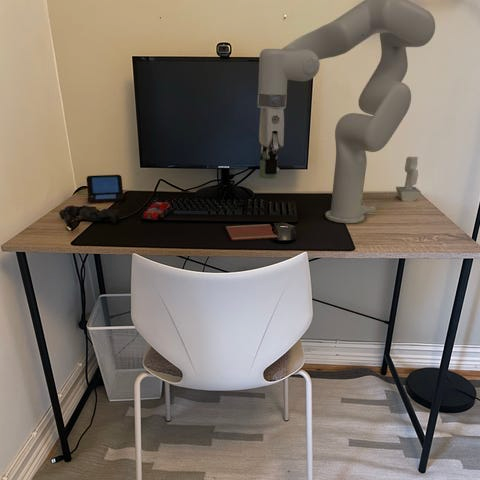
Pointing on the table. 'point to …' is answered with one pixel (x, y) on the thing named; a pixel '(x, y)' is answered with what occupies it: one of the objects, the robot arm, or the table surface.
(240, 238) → the reddish brown flat tray
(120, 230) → the table surface
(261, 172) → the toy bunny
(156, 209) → the race car
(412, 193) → the figurine
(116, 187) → the handheld game console
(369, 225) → the table surface
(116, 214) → the robot figurine
